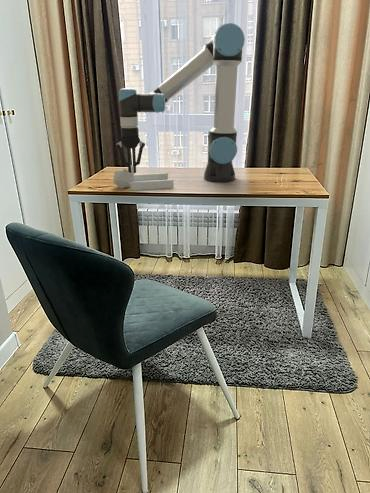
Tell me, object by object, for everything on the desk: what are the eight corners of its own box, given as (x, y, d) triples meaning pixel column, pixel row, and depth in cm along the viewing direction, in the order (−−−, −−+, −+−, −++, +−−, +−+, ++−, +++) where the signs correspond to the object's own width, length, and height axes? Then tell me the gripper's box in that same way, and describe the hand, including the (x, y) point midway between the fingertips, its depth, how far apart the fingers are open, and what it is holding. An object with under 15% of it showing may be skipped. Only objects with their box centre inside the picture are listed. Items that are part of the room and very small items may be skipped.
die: (133, 189, 177) (136, 168, 178) (114, 184, 173) (118, 163, 175) (127, 193, 184) (131, 173, 186) (109, 188, 181) (113, 168, 182)
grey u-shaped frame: (167, 179, 193) (167, 172, 192) (173, 187, 180) (173, 179, 178) (128, 182, 189) (127, 175, 188) (131, 190, 176) (130, 182, 175)
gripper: (143, 125, 178) (145, 177, 187) (114, 126, 175) (118, 178, 185) (145, 127, 171) (147, 181, 181) (115, 128, 169) (119, 183, 178)
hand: (132, 180), depth 183 cm, fingers closed
